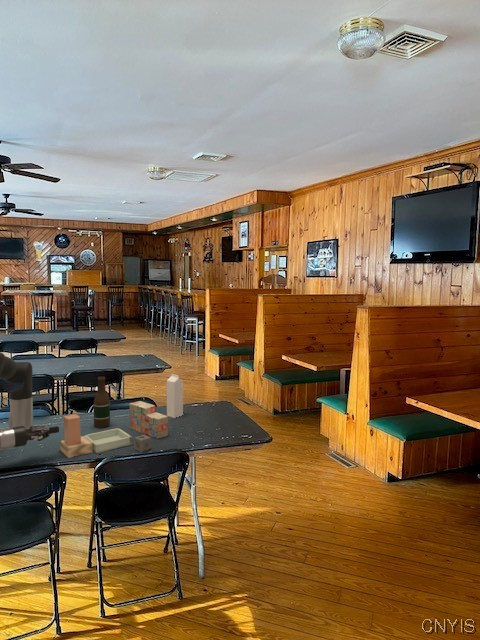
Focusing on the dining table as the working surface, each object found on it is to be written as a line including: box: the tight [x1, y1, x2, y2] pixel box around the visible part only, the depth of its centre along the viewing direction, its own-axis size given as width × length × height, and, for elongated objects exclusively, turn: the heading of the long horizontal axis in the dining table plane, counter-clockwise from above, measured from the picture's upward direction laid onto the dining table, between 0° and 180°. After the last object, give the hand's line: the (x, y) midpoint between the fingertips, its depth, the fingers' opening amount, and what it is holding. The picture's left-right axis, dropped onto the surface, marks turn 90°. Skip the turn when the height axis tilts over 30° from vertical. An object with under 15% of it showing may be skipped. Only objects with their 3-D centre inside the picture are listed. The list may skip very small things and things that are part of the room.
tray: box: [83, 427, 133, 454], centre depth 199 cm, size 16×14×4 cm
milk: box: [166, 373, 184, 419], centre depth 238 cm, size 6×6×22 cm
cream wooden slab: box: [59, 435, 94, 459], centre depth 191 cm, size 10×10×4 cm
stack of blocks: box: [129, 400, 169, 439], centre depth 215 cm, size 21×6×12 cm, turn 48°
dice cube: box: [133, 434, 152, 453], centre depth 195 cm, size 5×5×5 cm
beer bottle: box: [93, 376, 111, 429], centre depth 221 cm, size 8×8×24 cm
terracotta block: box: [63, 413, 82, 446], centre depth 189 cm, size 5×5×11 cm
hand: (58, 429), depth 185 cm, fingers closed
